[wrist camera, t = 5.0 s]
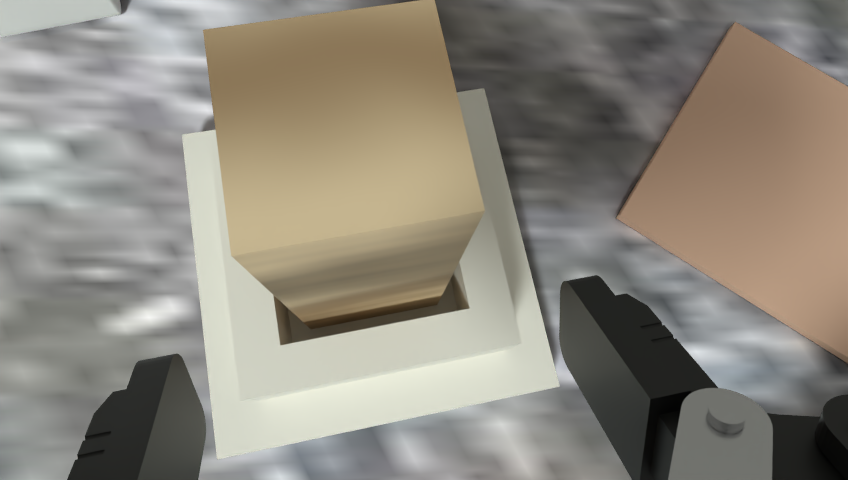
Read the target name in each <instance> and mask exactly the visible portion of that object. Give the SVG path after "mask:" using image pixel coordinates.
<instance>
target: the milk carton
mask: <svg viewBox="0 0 848 480" xmlns="http://www.w3.org/2000/svg"><path fill="white" fill-rule="evenodd" d="M120 14H121V3H120V0H0V38H1V37H6V36H11V35H17V34H22V33H27V32H33V31H38V30H43V29H48V28H54V27H59V26H64V25H69V24H75V23H80V22H85V21H90V20H96V19H101V18H106V17H111V16H116V15H120Z"/></svg>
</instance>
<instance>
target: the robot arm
mask: <svg viewBox="0 0 848 480" xmlns="http://www.w3.org/2000/svg"><path fill="white" fill-rule="evenodd" d="M559 339H560V347H561V351H562V355H563V358H564V361H565V363H566V365H567V367H568V369H569V371H570V372H571V374H572V376H573V378H574V379H575V381H576V383H577V385H578V386H579V388H580V390H581V391H582V393H583V395H584V397H585V398H586V400H587V402H588V404H589V405H590V407H591V409H592V411H593V412H594V414H595V416H596V418H597V419H598V421H599V423H600V425H601V426H602V428H603V430H604V431H605V433H606V435H607V437H608V438H609V440H610V442H611V444H612V445H613V447H614V449H615V451H616V452H617V454H618V456H619V458H620V459H621V461H622V463H623V465H624V466H625V468H626V470H627V472H628V473H629V475H630V477H631V478H632V480H848V395H841V396H837V397H834V398H832V399H830V400H829V401H828V402H827V403H826V404H825V406H824V408H823V411H822V414H821V417H810V416H792V415H776V414H768V413H766V412H765V411H764V410H763V408H762V407H760V406H759V405H758V404H757V403H756V402H754V401H753V400H751V399H750V398H748V397H746V396H744V395H742V394H740V393H737V392H734V391H731V390H727V389H721V388H718V387H717V386H716V385H715V384H714V382H713V381H712V380H711V379H710V378H709V377H708V375H707V374H706V373H705V372H704V371H703V370H702V368H701V367H700V366H699V365H698V364H697V363H696V361H695V360H694V359H693V358H692V357H691V356H690V354H689V353H688V352H687V351H686V350H685V349H684V348H683V346H682V345H681V344H680V343H679V342H678V341H677V339H674V338H673V335H672V334H671V332H670V331H669V330H668V329H667V328H666V327H665V325H663V326H662V322H661V321H660V320H659V319H658V317H657V316H656V315H655V314H654V313H653V312H652V310H651V309H650V308H649V307H648V306H647V305H645V304H644V303H642V302H640V301H638V300H637V299H635V298H633V297H631V296H630V295H628V294H621V295H616V296H615V295H614V293H613V292H612V291H611V290H610V288H609V287H608V286H607V285H606V283H605V282H604V281H603V280H602V279H601V277H599V276H597V275H595V276H590V277H585V278H579V279H574V280H569V281H564V282H563V283H562V285H561V290H560V330H559ZM205 437H206V423H205V416H204V411H203V408H202V405H201V403H200V400H199V398H198V395H197V393H196V390H195V388H194V385H193V383H192V380H191V378H190V375H189V373H188V370H187V368H186V366H185V363H184V361H183V359H182V357H181V356H180V355H179V354H173V355H167V356H162V357H157V358H152V359H146V360H141V361H138V362H137V363H136V365H135V367H134V370H133V373H132V375H131V378H130V381H129V384H128V386H127V389H125V390H120V391H115V392H113V393H112V394H111V395H110V396H109V397H108V398H107V399H106V401H105V402H104V403H103V404H102V405H101V406H100V408H99V409H98V410H97V411H96V412H95V413H94V415H93V418H92V420H91V423H90V425H89V427H88V430H87V432H86V435H85V441H83V442H82V445H81V447H80V450H79V452H78V455H77V456H78V459H77V460H75V462H74V464H73V467H72V469H71V472H70V474H69V477H68V479H67V480H198V477H199V471H200V466H201V460H202V455H203V449H204V443H205Z"/></svg>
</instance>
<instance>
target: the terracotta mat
mask: <svg viewBox="0 0 848 480" xmlns="http://www.w3.org/2000/svg"><path fill="white" fill-rule="evenodd" d="M616 218H617V219H618V220H620V221H621V222H623V223H625V224H626V225H628V226H629V227H631V228H633V229H634V230H636V231H637V232H639V233H640V234H642V235H644V236H645V237H647V238H648V239H650V240H652V241H653V242H655V243H656V244H658V245H660V246H661V247H663V248H664V249H666V250H668V251H669V252H671V253H672V254H674V255H676V256H677V257H679V258H680V259H682V260H684V261H685V262H687V263H688V264H690V265H691V266H693V267H695V268H696V269H698V270H699V271H701V272H703V273H704V274H706V275H707V276H709V277H711V278H712V279H714V280H715V281H717V282H719V283H720V284H722V285H723V286H725V287H727V288H728V289H730V290H731V291H733V292H735V293H736V294H738V295H739V296H741V297H743V298H744V299H746V300H747V301H749V302H750V303H752V304H754V305H755V306H757V307H758V308H760V309H762V310H763V311H765V312H766V313H768V314H770V315H771V316H773V317H774V318H776V319H778V320H779V321H781V322H782V323H784V324H786V325H787V326H789V327H790V328H792V329H794V330H795V331H797V332H798V333H800V334H802V335H803V336H805V337H806V338H808V339H809V340H811V341H813V342H814V343H816V344H817V345H819V346H821V347H822V348H824V349H825V350H827V351H829V352H830V353H832V354H833V355H835V356H837V357H838V358H840V359H841V360H843V361H845V362H846V363H848V86H846V85H844V84H842V83H841V82H839V81H837V80H835V79H834V78H832V77H830V76H828V75H827V74H825V73H823V72H821V71H820V70H818V69H816V68H815V67H813V66H811V65H809V64H808V63H806V62H804V61H802V60H801V59H799V58H797V57H795V56H794V55H792V54H790V53H789V52H787V51H785V50H783V49H782V48H780V47H778V46H776V45H775V44H773V43H771V42H769V41H768V40H766V39H764V38H762V37H761V36H759V35H757V34H756V33H754V32H752V31H750V30H749V29H747V28H745V27H743V26H742V25H740V24H738V23H736V22H735V23H734V24H733V25H732V26H731V27H730V28H729V30H728V32H727V33H726V35H725V37H724V38H723V40H722V42H721V43H720V45H719V47H718V48H717V50H716V52H715V53H714V55H713V57H712V58H711V60H710V62H709V63H708V65H707V67H706V68H705V70H704V72H703V73H702V75H701V77H700V78H699V80H698V82H697V83H696V85H695V87H694V88H693V90H692V92H691V93H690V95H689V97H688V98H687V100H686V102H685V103H684V105H683V107H682V108H681V110H680V112H679V114H678V115H677V117H676V119H675V120H674V122H673V124H672V125H671V127H670V129H669V130H668V132H667V134H666V135H665V137H664V139H663V140H662V142H661V144H660V145H659V147H658V149H657V150H656V152H655V154H654V155H653V157H652V159H651V160H650V162H649V164H648V165H647V167H646V169H645V170H644V172H643V174H642V175H641V177H640V179H639V180H638V182H637V184H636V185H635V187H634V189H633V190H632V192H631V194H630V195H629V197H628V199H627V201H626V202H625V204H624V206H623V207H622V209H621V211H620V212H619V214H618V216H617V217H616Z"/></svg>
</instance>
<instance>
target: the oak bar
mask: <svg viewBox="0 0 848 480" xmlns="http://www.w3.org/2000/svg"><path fill="white" fill-rule="evenodd" d="M203 33H204V41H205V49H206V57H207V65H208V73H209V81H210V89H211V97H212V105H213V114H214V122H215V130H216V138H217V146H218V154H219V162H220V170H221V178H222V186H223V194H224V202H225V210H226V219H227V227H228V235H229V243H230V251H231V256H232V257H233V258H234V259H235V260H236V261H237V262H238V263H239V264H240V265H242V266H243V267H244V268H245V269H246V270H247V271H248V272H249V273H250V274H251V275H252V276H253V277H255V278H256V279H257V280H258V281H259V282H260V283H261V284H262V285H263V286H264V287H265V288H266V289H268V290H269V291H270V292H271V293H272V294H273V295H274V296H275V297H276V298H277V299H278V300H280V301H281V302H282V303H283V304H284V305H285V306H286V307H287V308H288V309H289V310H290V311H291V312H293V313H294V314H295V315H296V316H297V317H298V318H299V319H300V320H301V321H302V322H303V323H304V324H306V325H307V326H308V327H309V328H310V329H315V328H320V327H325V326H331V325H336V324H341V323H346V322H351V321H356V320H362V319H367V318H372V317H377V316H382V315H387V314H393V313H398V312H403V311H408V310H413V309H418V308H424V307H429V306H434V305H437V304H438V302H439V300H440V298H441V296H442V294H443V292H444V291H445V289H446V287H447V285H448V283H449V281H450V279H451V277H452V275H453V273H454V271H455V269H456V267H457V265H458V263H459V261H460V259H461V257H462V255H463V253H464V251H465V249H466V247H467V245H468V243H469V241H470V239H471V237H472V235H473V234H474V232H475V230H476V228H477V226H478V224H479V222H480V220H481V218H482V216H483V214H484V212H485V209H484V204H483V200H482V196H481V192H480V188H479V184H478V179H477V175H476V171H475V167H474V163H473V158H472V154H471V150H470V146H469V142H468V138H467V133H466V129H465V125H464V121H463V117H462V112H461V108H460V104H459V100H458V96H457V92H456V87H455V83H454V79H453V75H452V71H451V66H450V62H449V58H448V54H447V50H446V46H445V41H444V37H443V33H442V29H441V25H440V20H439V16H438V12H437V8H436V4H435V0H418V1H411V2H404V3H397V4H389V5H382V6H375V7H367V8H360V9H353V10H345V11H338V12H331V13H323V14H316V15H309V16H301V17H294V18H287V19H279V20H272V21H265V22H257V23H250V24H243V25H235V26H228V27H221V28H213V29H206V30H203Z"/></svg>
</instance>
